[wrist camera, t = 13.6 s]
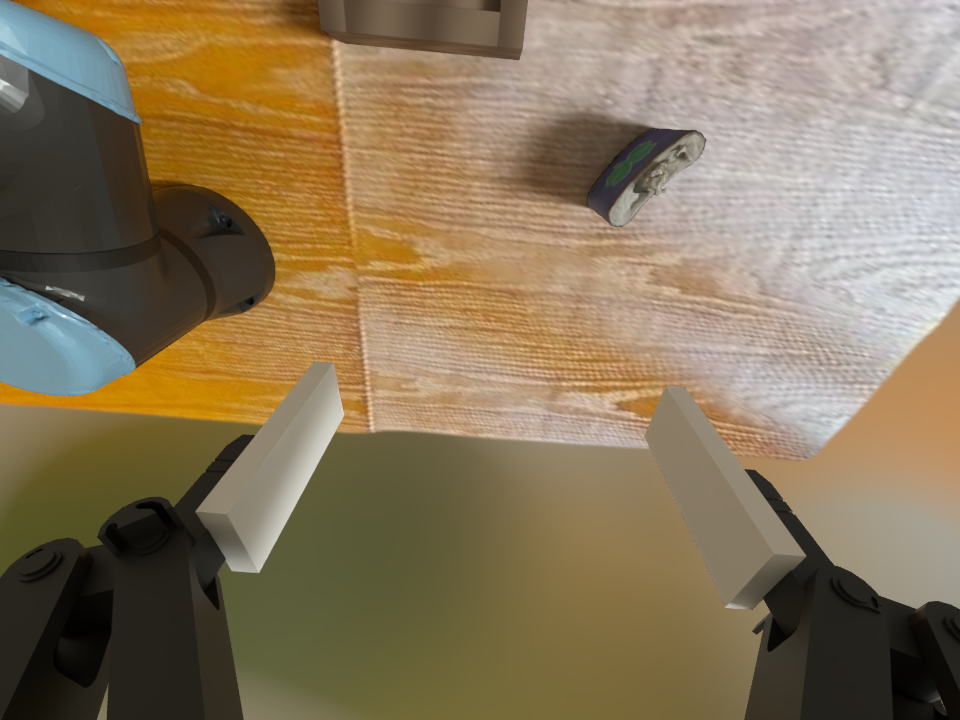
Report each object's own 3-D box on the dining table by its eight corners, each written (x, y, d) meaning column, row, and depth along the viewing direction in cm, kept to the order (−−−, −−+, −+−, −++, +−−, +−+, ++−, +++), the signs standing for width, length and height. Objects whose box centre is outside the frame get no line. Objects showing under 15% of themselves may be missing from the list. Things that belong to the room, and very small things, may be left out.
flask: (596, 214, 40) (624, 238, 31) (578, 195, 39) (602, 214, 30) (669, 141, 36) (726, 144, 27) (652, 118, 35) (705, 113, 26)
